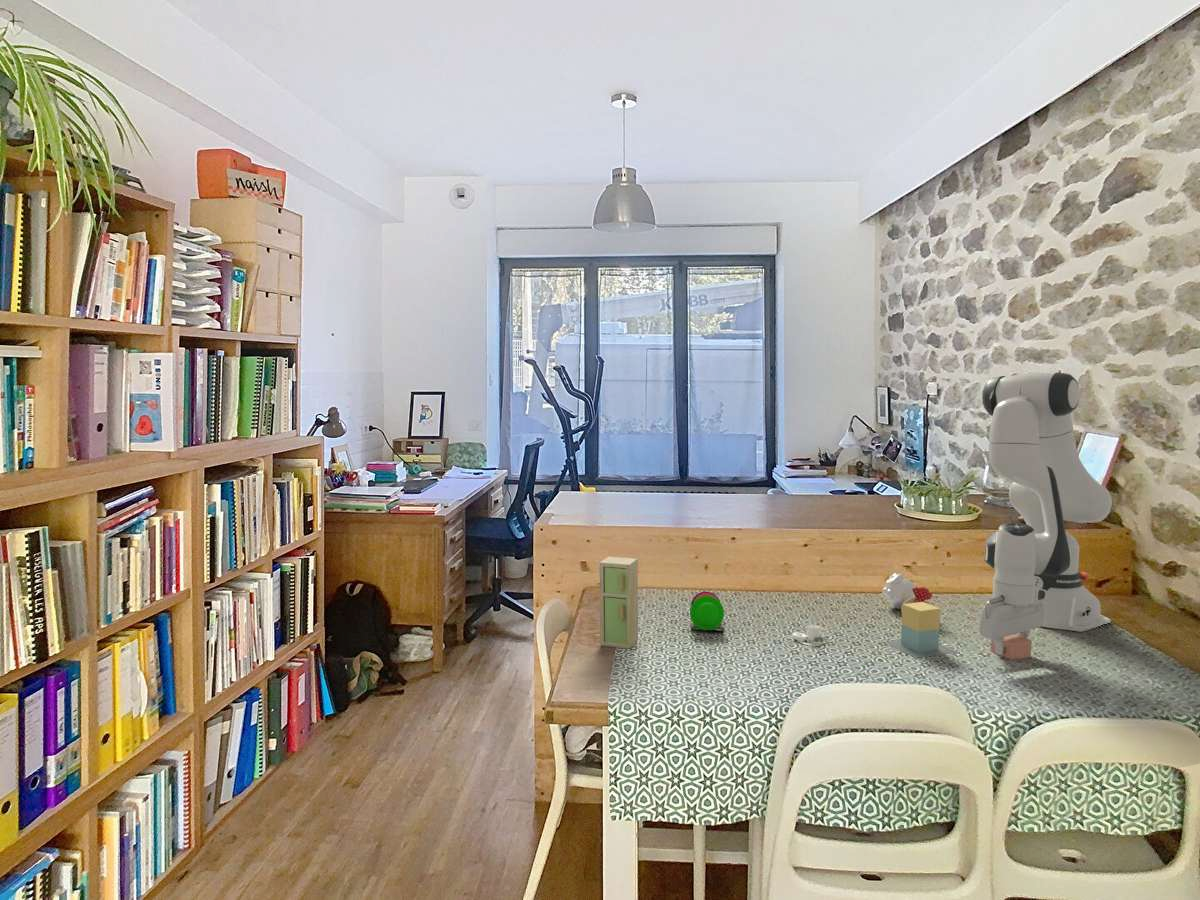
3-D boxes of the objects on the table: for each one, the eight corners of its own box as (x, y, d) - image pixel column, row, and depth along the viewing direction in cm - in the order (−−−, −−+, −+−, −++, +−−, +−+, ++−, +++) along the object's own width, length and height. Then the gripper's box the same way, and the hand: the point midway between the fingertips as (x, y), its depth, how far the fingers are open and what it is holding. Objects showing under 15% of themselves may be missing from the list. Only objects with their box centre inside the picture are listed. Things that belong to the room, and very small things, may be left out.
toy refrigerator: (598, 646, 204) (598, 562, 202) (608, 637, 211) (608, 556, 209) (629, 650, 201) (629, 565, 199) (638, 641, 208) (638, 558, 206)
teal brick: (920, 641, 205) (921, 621, 204) (938, 649, 199) (939, 629, 198) (900, 644, 202) (901, 624, 202) (918, 652, 197) (918, 631, 196)
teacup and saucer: (788, 641, 209) (788, 626, 209) (804, 634, 215) (804, 619, 215) (819, 649, 203) (820, 633, 203) (835, 642, 209) (836, 626, 209)
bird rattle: (913, 637, 218) (947, 625, 217) (897, 599, 217) (930, 586, 216) (907, 630, 224) (939, 618, 223) (891, 592, 224) (924, 580, 222)
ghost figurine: (887, 602, 243) (888, 568, 242) (921, 607, 238) (922, 573, 237) (877, 609, 236) (879, 574, 235) (912, 615, 230) (913, 579, 229)
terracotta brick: (1010, 653, 200) (1011, 632, 200) (1030, 661, 194) (1031, 640, 194) (990, 655, 198) (991, 635, 198) (1010, 664, 192) (1011, 643, 192)
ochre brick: (921, 621, 204) (922, 601, 204) (939, 629, 198) (940, 608, 198) (901, 624, 202) (902, 604, 202) (918, 631, 196) (919, 611, 196)
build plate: (921, 641, 208) (922, 636, 208) (957, 657, 197) (957, 652, 197) (882, 646, 204) (882, 642, 204) (916, 663, 193) (916, 658, 193)
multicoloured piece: (690, 626, 228) (690, 634, 213) (687, 591, 229) (687, 597, 214) (724, 624, 227) (726, 632, 212) (720, 589, 228) (722, 594, 213)
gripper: (999, 603, 187) (996, 663, 188) (1051, 590, 197) (1048, 647, 199) (973, 596, 192) (970, 654, 193) (1025, 584, 203) (1022, 639, 204)
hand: (1010, 650), depth 196 cm, fingers closed on terracotta brick, 6 cm apart
